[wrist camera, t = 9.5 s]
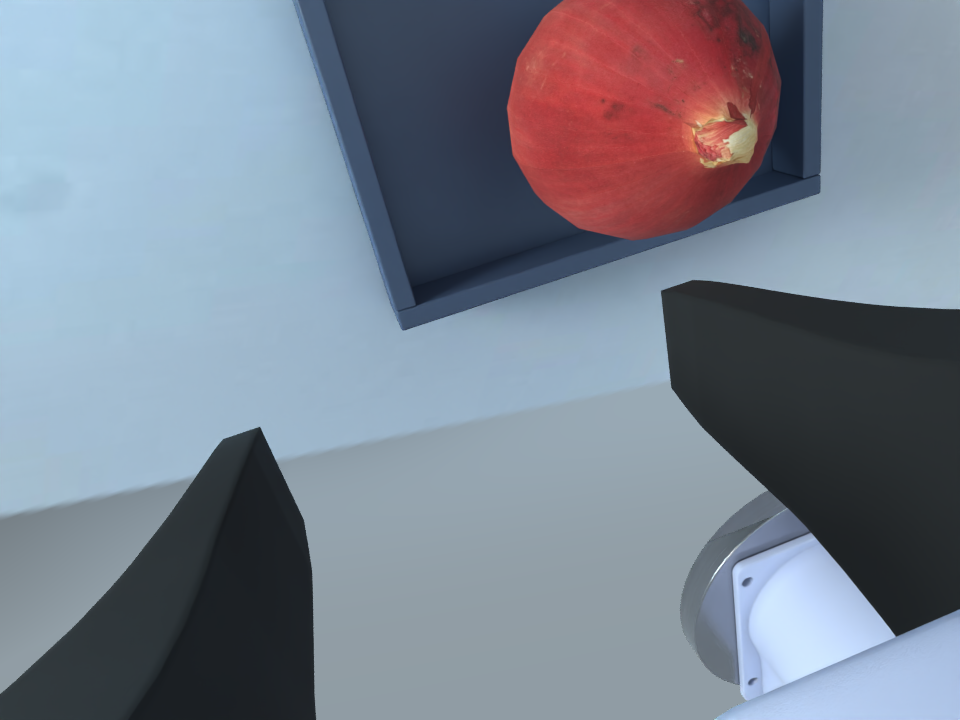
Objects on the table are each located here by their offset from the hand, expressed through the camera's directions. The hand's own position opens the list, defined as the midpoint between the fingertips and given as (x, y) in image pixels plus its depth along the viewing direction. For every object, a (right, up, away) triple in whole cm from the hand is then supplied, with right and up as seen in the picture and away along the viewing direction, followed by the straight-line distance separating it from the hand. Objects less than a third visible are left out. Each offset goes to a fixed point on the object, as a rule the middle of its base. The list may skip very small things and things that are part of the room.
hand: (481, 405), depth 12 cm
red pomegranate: (+3, +8, +7) cm, 11 cm away
